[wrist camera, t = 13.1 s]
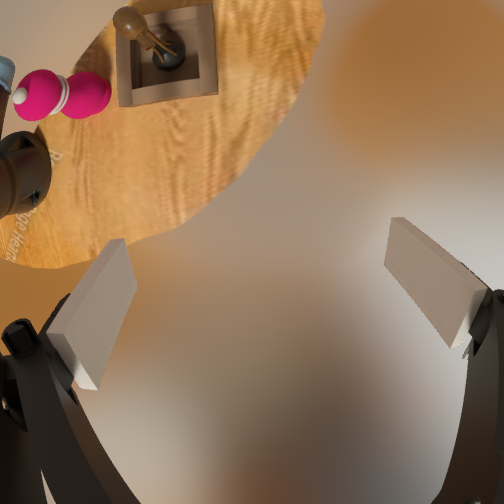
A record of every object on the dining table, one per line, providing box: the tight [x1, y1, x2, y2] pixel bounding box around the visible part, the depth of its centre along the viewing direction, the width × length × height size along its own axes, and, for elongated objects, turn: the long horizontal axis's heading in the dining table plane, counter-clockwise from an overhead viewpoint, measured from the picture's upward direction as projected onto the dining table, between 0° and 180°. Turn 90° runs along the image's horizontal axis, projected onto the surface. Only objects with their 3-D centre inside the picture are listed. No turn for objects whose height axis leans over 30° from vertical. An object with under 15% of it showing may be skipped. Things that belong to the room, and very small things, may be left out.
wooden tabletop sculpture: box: [113, 6, 186, 71], centre depth 24 cm, size 6×5×20 cm
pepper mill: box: [12, 69, 111, 121], centre depth 26 cm, size 7×7×20 cm
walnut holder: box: [116, 4, 218, 107], centre depth 31 cm, size 13×13×6 cm
